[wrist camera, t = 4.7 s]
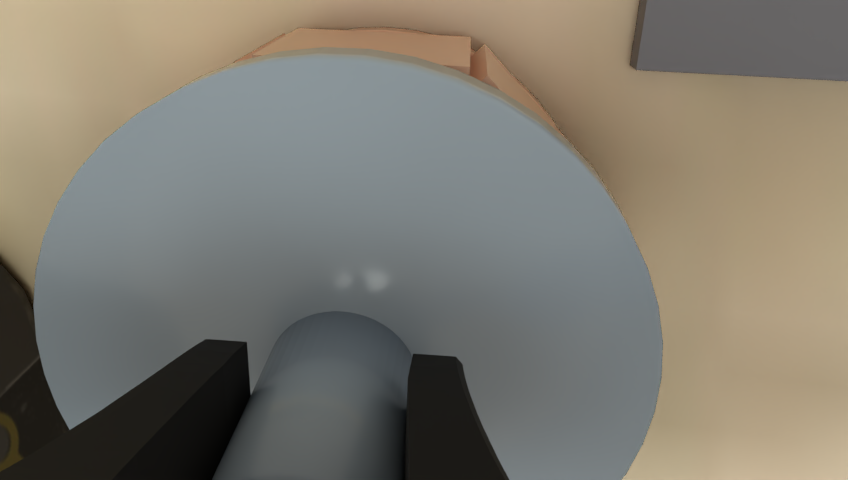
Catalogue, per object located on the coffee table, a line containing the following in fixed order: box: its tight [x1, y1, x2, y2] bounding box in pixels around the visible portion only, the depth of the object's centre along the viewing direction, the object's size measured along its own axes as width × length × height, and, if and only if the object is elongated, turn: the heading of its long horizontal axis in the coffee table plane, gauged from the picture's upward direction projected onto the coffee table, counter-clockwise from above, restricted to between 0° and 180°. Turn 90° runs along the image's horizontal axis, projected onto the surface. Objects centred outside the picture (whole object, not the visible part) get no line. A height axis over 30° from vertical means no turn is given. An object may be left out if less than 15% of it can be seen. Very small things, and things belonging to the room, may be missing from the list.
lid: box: [33, 47, 663, 480], centre depth 10 cm, size 10×10×4 cm
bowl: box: [234, 27, 566, 138], centre depth 15 cm, size 9×9×4 cm
